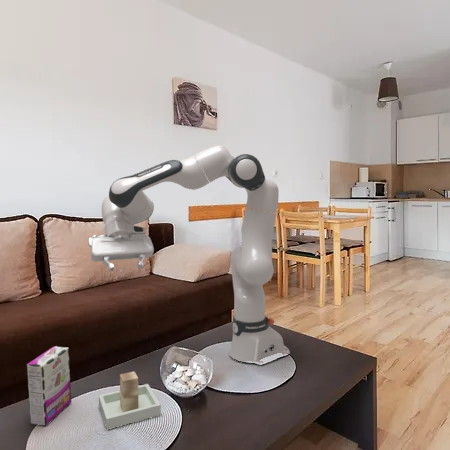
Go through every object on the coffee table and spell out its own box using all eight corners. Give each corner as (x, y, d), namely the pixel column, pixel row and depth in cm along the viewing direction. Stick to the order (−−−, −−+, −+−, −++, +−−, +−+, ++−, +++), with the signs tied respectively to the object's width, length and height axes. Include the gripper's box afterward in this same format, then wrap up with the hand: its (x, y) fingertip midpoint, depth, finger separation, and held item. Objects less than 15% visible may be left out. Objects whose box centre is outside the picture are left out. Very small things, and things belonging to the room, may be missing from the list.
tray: (148, 393, 113) (147, 383, 113) (160, 415, 103) (160, 404, 102) (98, 405, 107) (98, 395, 106) (106, 430, 96) (106, 419, 96)
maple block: (134, 401, 107) (134, 371, 106) (138, 409, 104) (138, 377, 103) (120, 405, 105) (119, 374, 104) (123, 413, 102) (123, 381, 101)
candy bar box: (56, 400, 109) (54, 345, 107) (71, 402, 108) (70, 347, 106) (28, 424, 98) (25, 363, 96) (45, 427, 97) (43, 365, 95)
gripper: (88, 230, 123) (93, 266, 116) (150, 227, 133) (158, 260, 125) (86, 242, 128) (91, 277, 120) (146, 238, 137) (154, 271, 130)
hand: (126, 268), depth 123 cm, fingers open, 8 cm apart
